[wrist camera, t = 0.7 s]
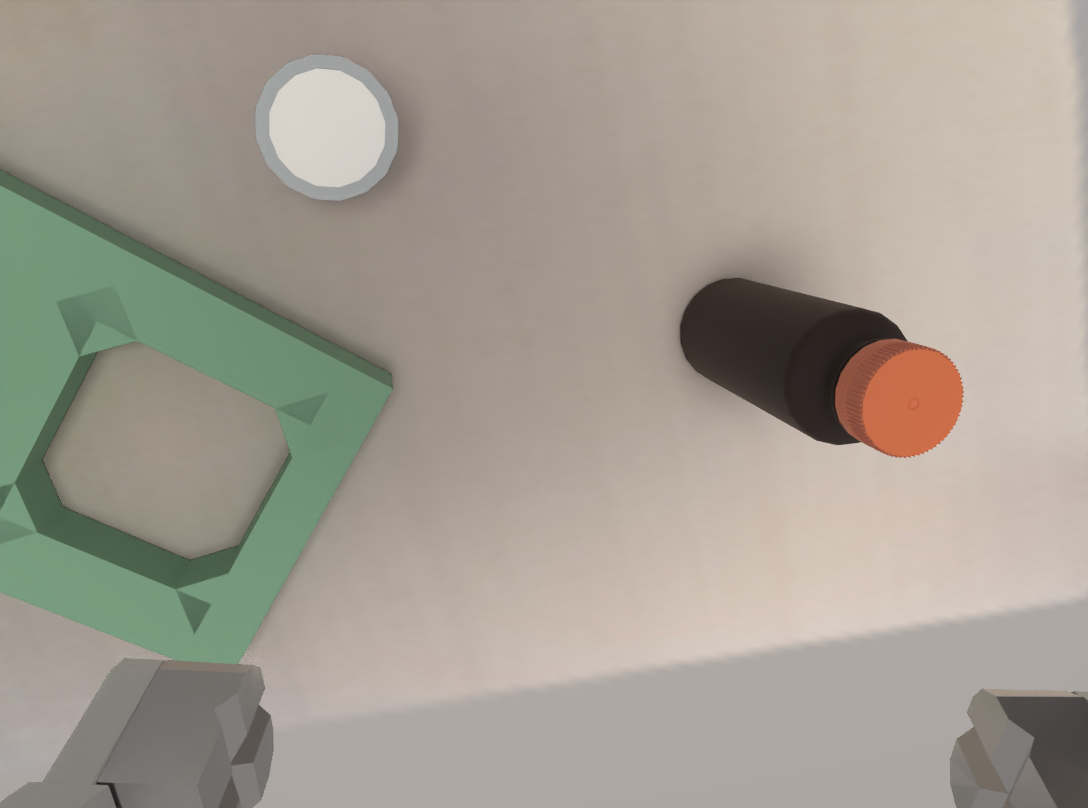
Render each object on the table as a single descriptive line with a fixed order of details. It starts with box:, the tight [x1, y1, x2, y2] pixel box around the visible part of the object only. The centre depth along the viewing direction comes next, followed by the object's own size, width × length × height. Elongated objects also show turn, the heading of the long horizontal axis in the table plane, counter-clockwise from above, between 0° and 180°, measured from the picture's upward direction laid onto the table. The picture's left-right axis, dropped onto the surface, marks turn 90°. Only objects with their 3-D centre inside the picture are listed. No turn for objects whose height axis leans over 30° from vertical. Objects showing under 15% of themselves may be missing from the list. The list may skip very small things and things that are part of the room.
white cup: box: [255, 54, 399, 201], centre depth 45 cm, size 7×7×7 cm
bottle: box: [681, 278, 964, 458], centre depth 46 cm, size 7×7×20 cm
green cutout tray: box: [0, 170, 393, 664], centre depth 47 cm, size 32×20×4 cm, turn 59°
